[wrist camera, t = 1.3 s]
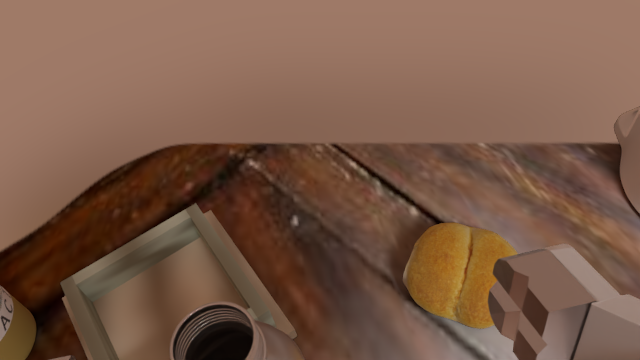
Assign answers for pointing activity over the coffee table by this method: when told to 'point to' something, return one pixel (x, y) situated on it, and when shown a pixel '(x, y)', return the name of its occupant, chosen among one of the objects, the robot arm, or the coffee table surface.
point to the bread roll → (455, 272)
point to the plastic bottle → (229, 336)
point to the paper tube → (15, 328)
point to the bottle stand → (162, 288)
